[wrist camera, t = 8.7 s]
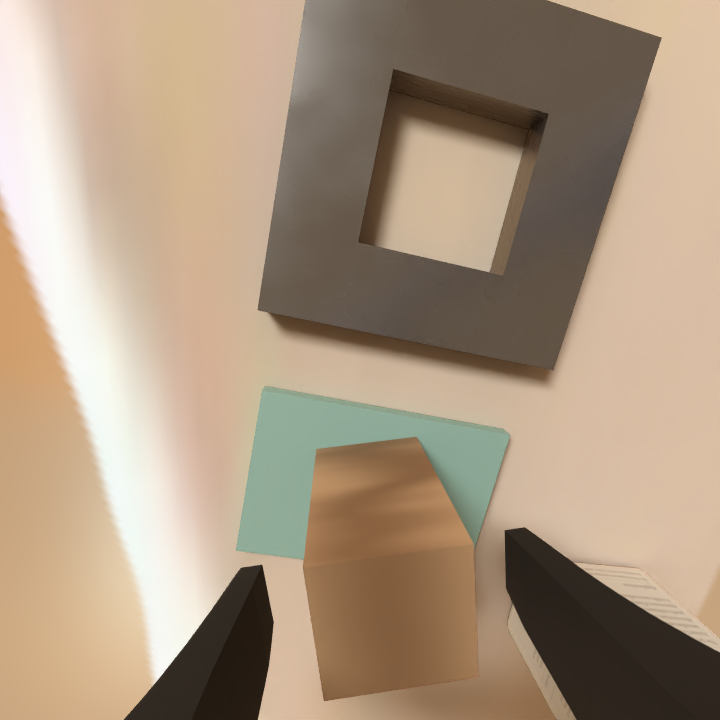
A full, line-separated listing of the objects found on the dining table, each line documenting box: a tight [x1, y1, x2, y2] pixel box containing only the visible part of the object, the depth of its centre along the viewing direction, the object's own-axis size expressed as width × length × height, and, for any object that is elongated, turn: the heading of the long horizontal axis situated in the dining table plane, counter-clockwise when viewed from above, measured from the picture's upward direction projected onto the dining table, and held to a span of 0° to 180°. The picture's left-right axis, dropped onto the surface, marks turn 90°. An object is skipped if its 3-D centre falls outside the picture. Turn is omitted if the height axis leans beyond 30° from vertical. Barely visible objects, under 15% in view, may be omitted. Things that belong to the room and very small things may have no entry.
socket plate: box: [258, 0, 661, 370], centre depth 12 cm, size 11×11×1 cm
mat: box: [236, 386, 510, 559], centre depth 15 cm, size 10×7×1 cm
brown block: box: [303, 437, 478, 701], centre depth 12 cm, size 4×4×6 cm
